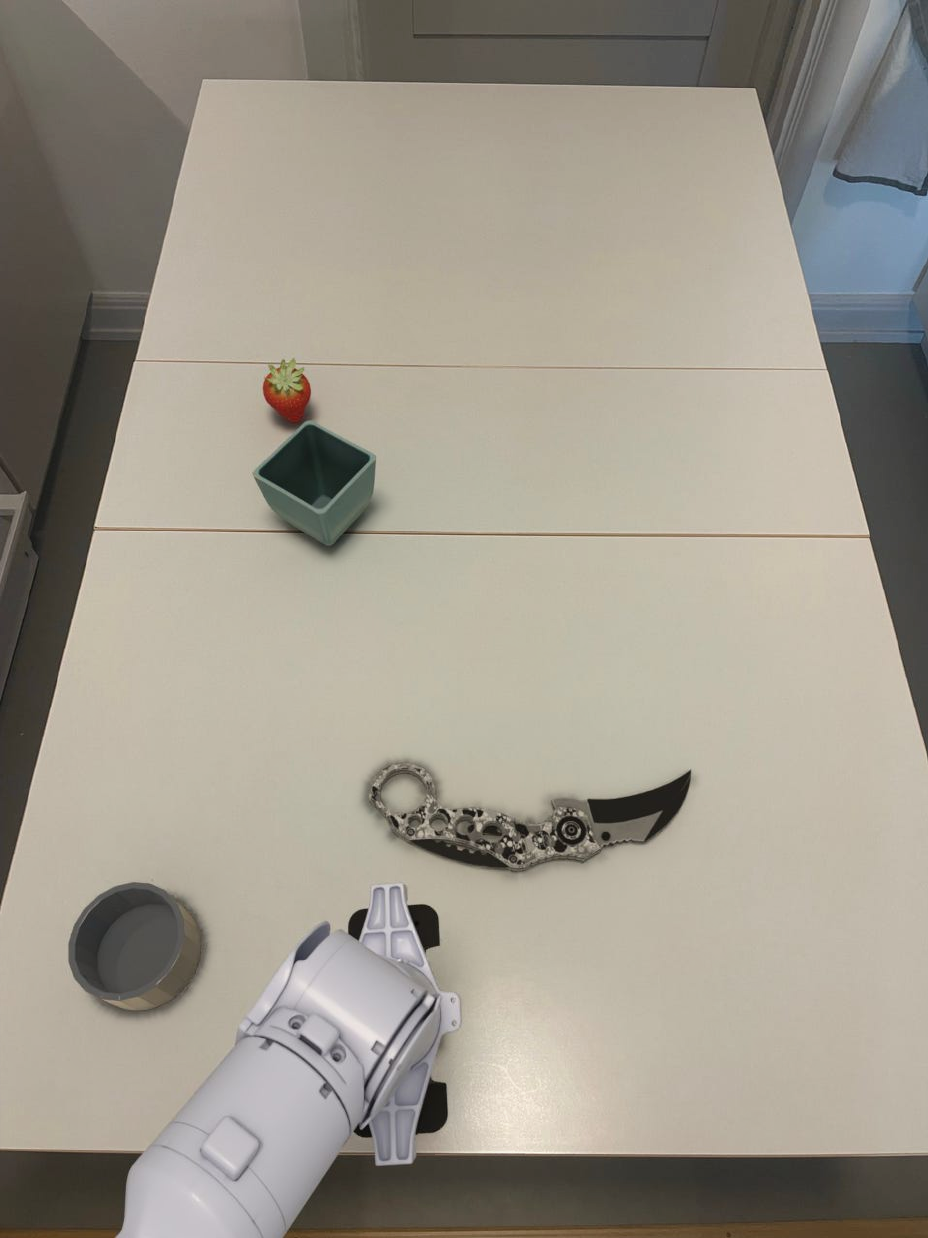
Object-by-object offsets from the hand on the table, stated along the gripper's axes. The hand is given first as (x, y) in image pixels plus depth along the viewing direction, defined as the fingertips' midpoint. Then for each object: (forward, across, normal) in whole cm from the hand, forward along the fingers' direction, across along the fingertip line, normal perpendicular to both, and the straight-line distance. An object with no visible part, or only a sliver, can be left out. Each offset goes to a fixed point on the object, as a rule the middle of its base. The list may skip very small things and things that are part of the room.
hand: (409, 1014), depth 58 cm
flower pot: (+17, +48, +9) cm, 51 cm away
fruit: (+18, +62, +13) cm, 66 cm away
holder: (+10, +6, +22) cm, 25 cm away
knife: (+14, +15, -10) cm, 23 cm away
